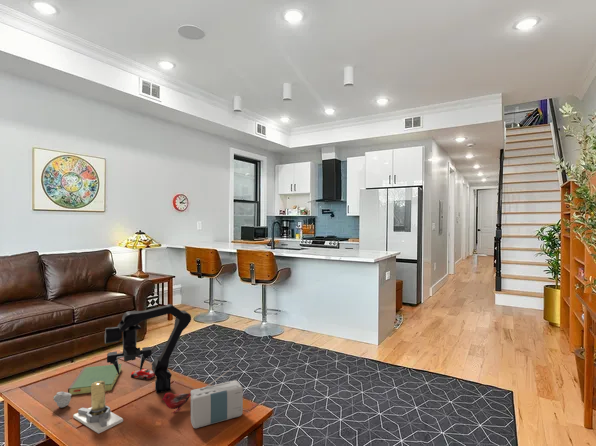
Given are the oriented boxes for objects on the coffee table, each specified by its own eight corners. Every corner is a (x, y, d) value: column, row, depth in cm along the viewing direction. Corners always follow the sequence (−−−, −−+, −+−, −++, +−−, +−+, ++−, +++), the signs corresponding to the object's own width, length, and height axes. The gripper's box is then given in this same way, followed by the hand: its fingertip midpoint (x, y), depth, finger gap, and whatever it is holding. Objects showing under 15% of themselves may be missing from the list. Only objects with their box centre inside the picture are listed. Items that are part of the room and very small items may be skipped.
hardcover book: (83, 374, 192) (83, 367, 191) (121, 370, 197) (121, 363, 197) (67, 397, 168) (67, 389, 167) (111, 392, 173) (111, 384, 173)
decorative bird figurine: (160, 417, 151) (159, 393, 150) (196, 401, 164) (196, 379, 164) (163, 419, 149) (163, 396, 148) (199, 403, 162) (199, 381, 162)
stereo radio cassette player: (193, 431, 141) (193, 381, 140) (189, 421, 148) (189, 373, 148) (243, 417, 151) (243, 371, 150) (237, 408, 158) (237, 363, 158)
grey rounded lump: (51, 407, 157) (51, 392, 157) (69, 401, 163) (69, 386, 163) (55, 412, 153) (55, 396, 153) (73, 406, 159) (73, 390, 159)
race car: (128, 377, 188) (128, 370, 188) (136, 373, 193) (136, 366, 193) (149, 381, 184) (149, 373, 184) (156, 376, 189) (156, 369, 189)
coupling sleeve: (108, 413, 151) (107, 380, 151) (101, 420, 146) (101, 386, 146) (95, 413, 151) (95, 380, 151) (88, 420, 146) (88, 386, 145)
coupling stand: (97, 407, 158) (97, 398, 158) (123, 421, 147) (122, 412, 147) (73, 417, 150) (73, 408, 150) (98, 433, 139) (98, 424, 139)
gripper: (106, 348, 154) (106, 383, 155) (152, 341, 163) (152, 375, 163) (107, 340, 164) (107, 373, 165) (150, 334, 173) (150, 366, 173)
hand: (129, 372), depth 166 cm, fingers open, 9 cm apart
